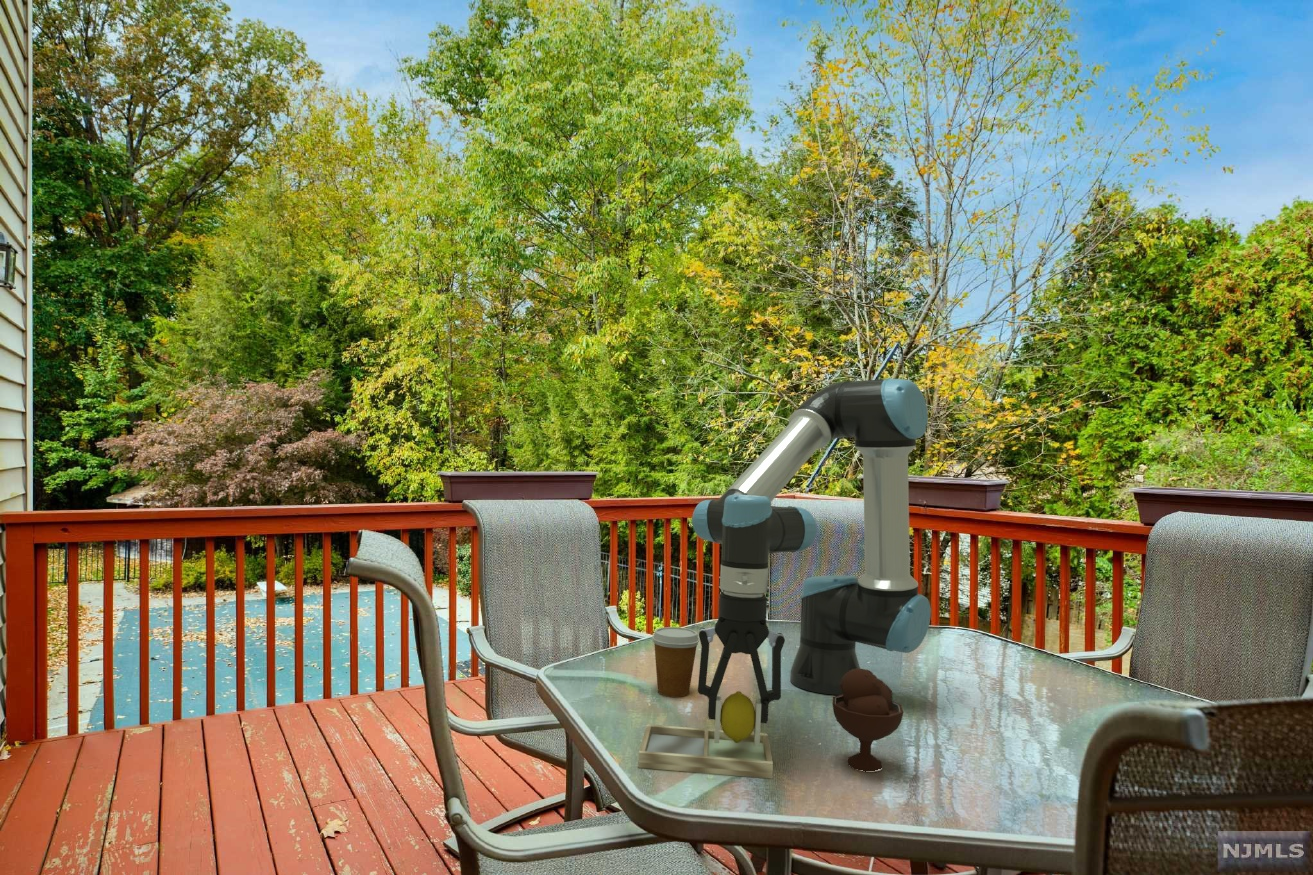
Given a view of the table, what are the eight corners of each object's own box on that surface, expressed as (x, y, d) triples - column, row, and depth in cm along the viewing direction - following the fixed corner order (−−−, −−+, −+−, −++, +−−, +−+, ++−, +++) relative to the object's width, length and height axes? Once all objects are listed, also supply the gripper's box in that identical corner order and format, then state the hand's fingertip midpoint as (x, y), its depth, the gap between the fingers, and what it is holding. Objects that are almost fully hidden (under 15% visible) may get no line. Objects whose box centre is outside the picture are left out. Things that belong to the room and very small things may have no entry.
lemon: (716, 735, 117) (718, 685, 118) (750, 736, 118) (752, 686, 118) (722, 749, 112) (724, 696, 112) (757, 750, 112) (760, 697, 112)
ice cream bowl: (892, 786, 107) (896, 684, 108) (819, 766, 113) (822, 669, 114) (909, 763, 116) (912, 668, 117) (840, 745, 122) (844, 655, 123)
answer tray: (767, 747, 120) (767, 733, 120) (772, 778, 108) (772, 763, 108) (646, 737, 122) (646, 724, 122) (638, 767, 110) (638, 752, 110)
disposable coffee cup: (693, 702, 141) (696, 639, 141) (645, 696, 143) (648, 635, 143) (700, 687, 150) (702, 629, 151) (654, 682, 152) (657, 624, 153)
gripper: (683, 593, 113) (676, 745, 112) (805, 601, 111) (799, 755, 110) (685, 585, 120) (679, 728, 119) (800, 592, 118) (793, 737, 118)
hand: (736, 741), depth 115 cm, fingers closed on lemon, 5 cm apart
